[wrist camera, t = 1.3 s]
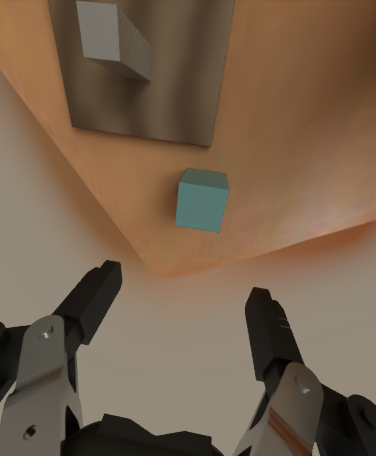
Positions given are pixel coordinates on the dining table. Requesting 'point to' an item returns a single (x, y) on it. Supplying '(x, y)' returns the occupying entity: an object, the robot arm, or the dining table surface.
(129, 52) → the post
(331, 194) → the dining table surface
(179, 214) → the aqua rectangular box
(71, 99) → the post board
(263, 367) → the robot arm
